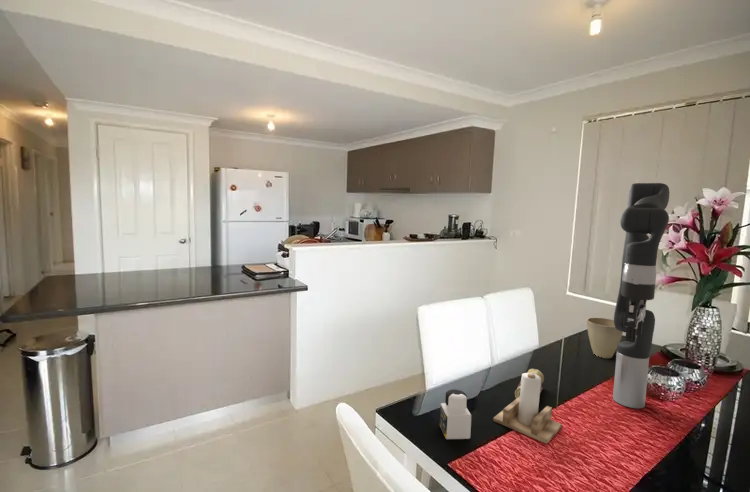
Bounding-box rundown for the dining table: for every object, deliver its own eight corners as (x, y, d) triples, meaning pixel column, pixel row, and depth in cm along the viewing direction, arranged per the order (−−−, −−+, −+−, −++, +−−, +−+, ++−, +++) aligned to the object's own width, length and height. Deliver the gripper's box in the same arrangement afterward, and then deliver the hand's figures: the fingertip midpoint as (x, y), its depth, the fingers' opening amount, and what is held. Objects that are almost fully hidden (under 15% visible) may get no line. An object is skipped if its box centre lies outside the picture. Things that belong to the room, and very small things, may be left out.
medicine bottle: (439, 425, 113) (441, 386, 112) (462, 425, 113) (464, 386, 112) (445, 439, 106) (447, 398, 104) (470, 439, 106) (472, 398, 105)
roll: (521, 413, 118) (525, 369, 117) (539, 421, 115) (543, 375, 113) (515, 420, 114) (519, 374, 113) (533, 428, 111) (537, 380, 109)
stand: (510, 407, 125) (511, 392, 124) (561, 427, 114) (562, 411, 113) (493, 420, 116) (494, 405, 116) (546, 443, 105) (548, 426, 104)
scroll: (540, 408, 121) (551, 386, 138) (531, 385, 123) (543, 366, 139) (517, 411, 126) (531, 389, 142) (509, 389, 127) (523, 369, 143)
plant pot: (577, 349, 181) (579, 317, 179) (605, 349, 183) (608, 317, 181) (598, 362, 166) (601, 326, 165) (629, 361, 168) (632, 326, 166)
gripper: (627, 276, 111) (623, 329, 113) (616, 281, 101) (611, 340, 102) (659, 279, 106) (654, 336, 107) (650, 285, 96) (645, 347, 97)
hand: (633, 338), depth 105 cm, fingers open, 8 cm apart
